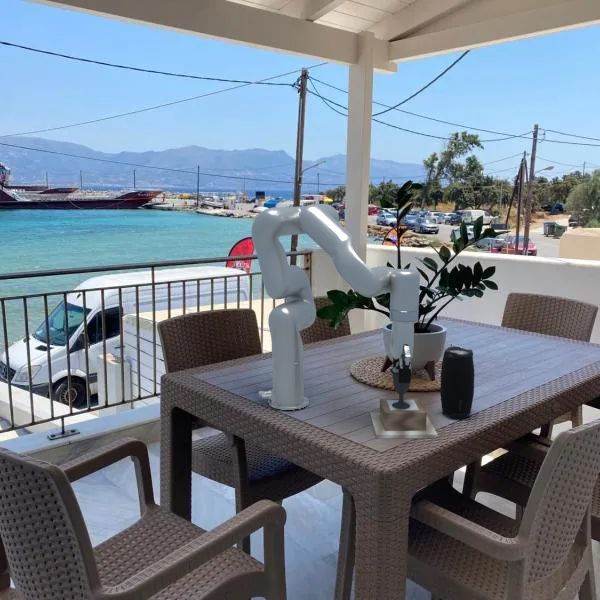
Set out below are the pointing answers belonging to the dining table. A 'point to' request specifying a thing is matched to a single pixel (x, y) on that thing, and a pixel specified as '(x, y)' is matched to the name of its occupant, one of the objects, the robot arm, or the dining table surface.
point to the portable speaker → (457, 382)
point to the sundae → (399, 386)
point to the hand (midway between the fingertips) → (401, 376)
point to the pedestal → (402, 420)
